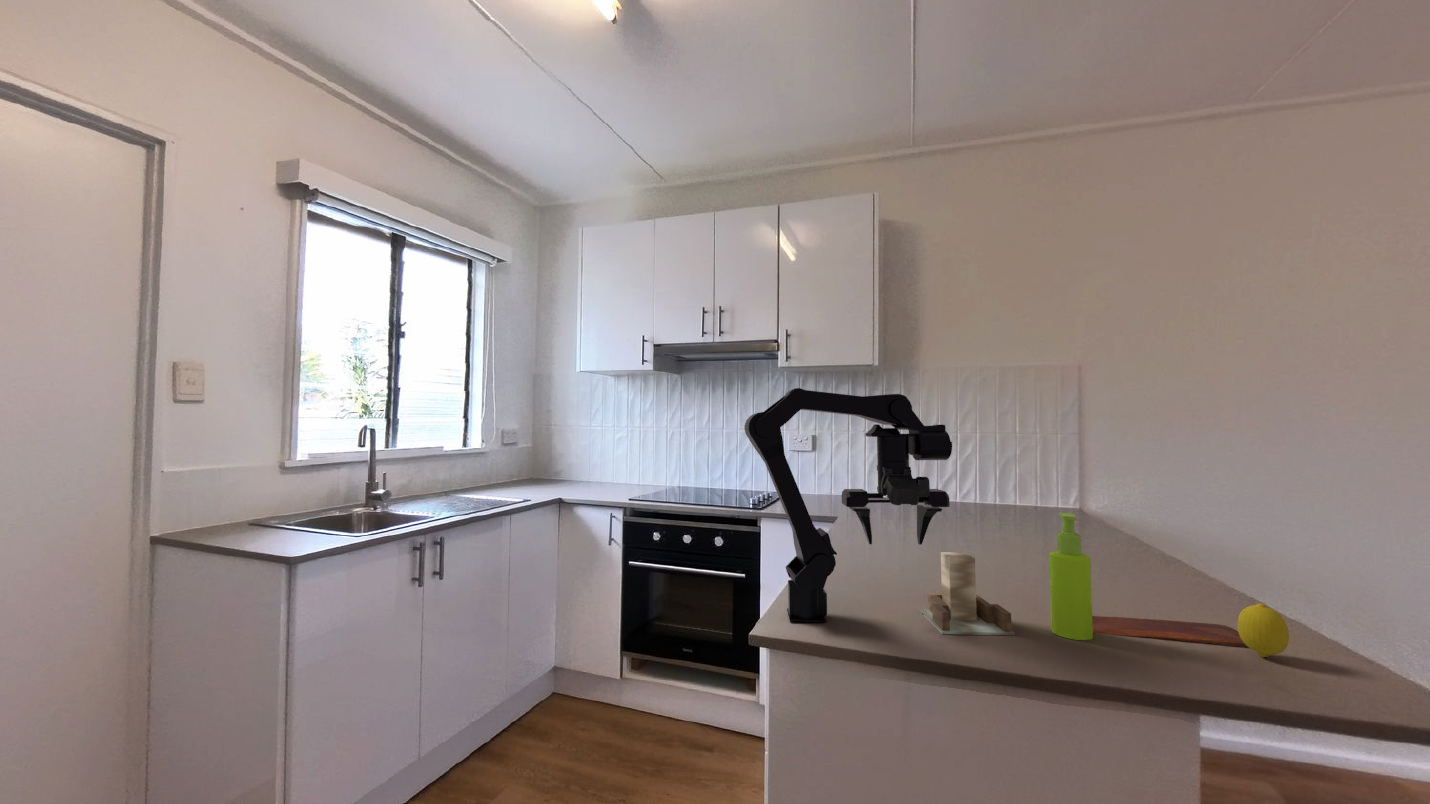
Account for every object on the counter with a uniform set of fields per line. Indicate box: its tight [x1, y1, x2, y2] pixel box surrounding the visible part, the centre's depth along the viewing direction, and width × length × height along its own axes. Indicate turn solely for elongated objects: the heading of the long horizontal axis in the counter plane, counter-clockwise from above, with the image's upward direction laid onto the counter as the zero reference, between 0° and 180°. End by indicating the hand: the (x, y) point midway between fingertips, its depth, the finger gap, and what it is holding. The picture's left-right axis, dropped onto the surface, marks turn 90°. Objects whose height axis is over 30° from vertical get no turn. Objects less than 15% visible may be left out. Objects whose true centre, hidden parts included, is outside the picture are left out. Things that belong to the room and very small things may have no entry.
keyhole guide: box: [919, 592, 1016, 636], centre depth 98 cm, size 12×12×3 cm
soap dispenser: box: [1048, 512, 1094, 641], centre depth 93 cm, size 6×7×20 cm
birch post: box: [940, 551, 977, 620], centre depth 101 cm, size 4×4×11 cm
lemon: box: [1237, 603, 1290, 658], centre depth 83 cm, size 6×6×8 cm
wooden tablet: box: [1092, 615, 1249, 648], centre depth 94 cm, size 27×10×2 cm, turn 72°
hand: (895, 544), depth 103 cm, fingers open, 9 cm apart
